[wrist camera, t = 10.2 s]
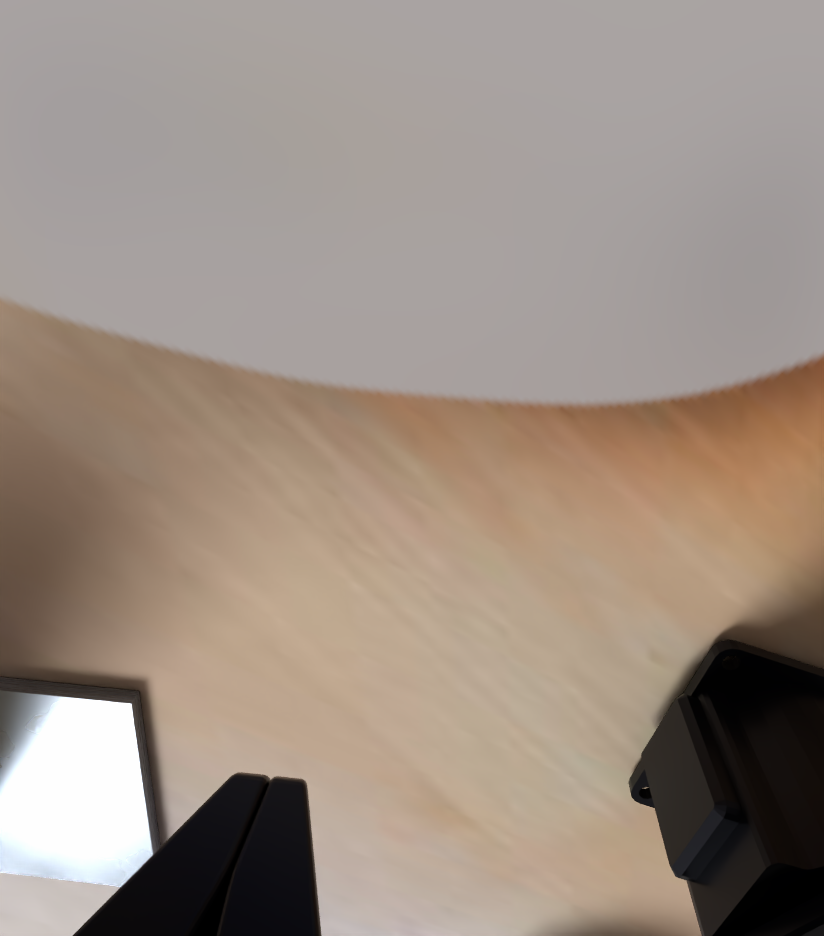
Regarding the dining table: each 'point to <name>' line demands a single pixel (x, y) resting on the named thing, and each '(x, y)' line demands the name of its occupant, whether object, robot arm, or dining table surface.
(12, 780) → the bolt plate
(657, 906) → the dining table surface
